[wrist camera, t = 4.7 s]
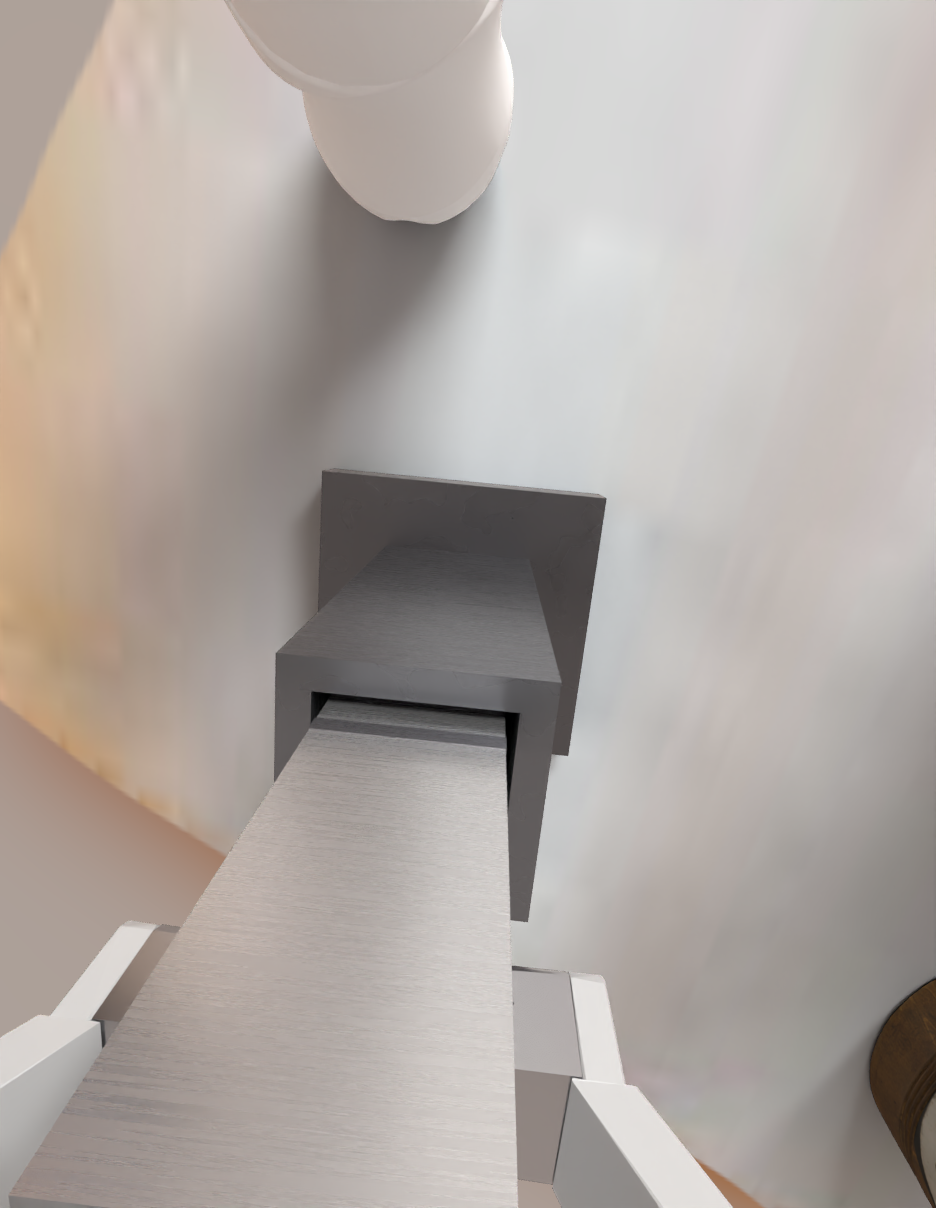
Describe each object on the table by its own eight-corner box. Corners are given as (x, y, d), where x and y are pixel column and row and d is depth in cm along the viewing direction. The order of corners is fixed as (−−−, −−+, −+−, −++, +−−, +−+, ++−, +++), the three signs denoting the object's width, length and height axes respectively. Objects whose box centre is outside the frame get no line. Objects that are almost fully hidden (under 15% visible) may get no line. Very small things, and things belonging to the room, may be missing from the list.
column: (502, 599, 24) (522, 1255, 5) (491, 696, 25) (473, 1553, 6) (398, 589, 24) (3, 1193, 5) (392, 686, 25) (48, 1498, 6)
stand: (599, 494, 28) (734, 569, 12) (563, 736, 31) (634, 1052, 15) (334, 468, 28) (120, 509, 12) (325, 711, 31) (146, 996, 15)
